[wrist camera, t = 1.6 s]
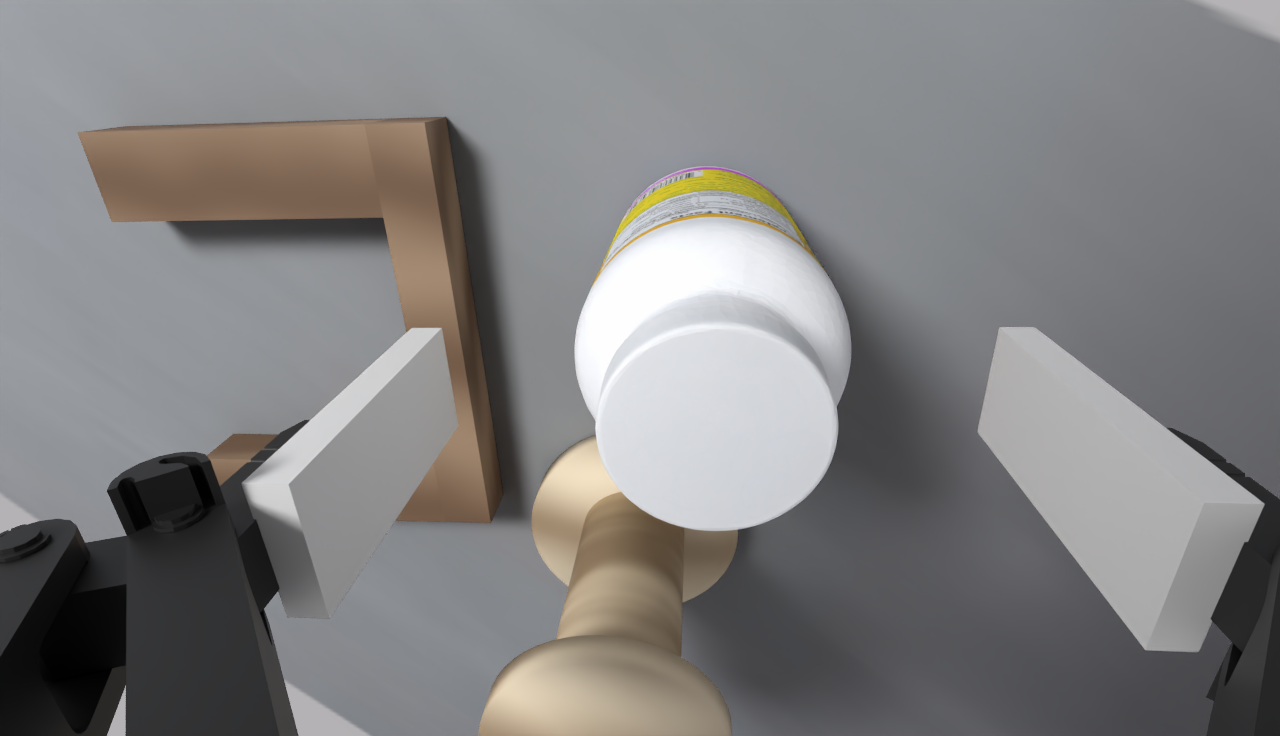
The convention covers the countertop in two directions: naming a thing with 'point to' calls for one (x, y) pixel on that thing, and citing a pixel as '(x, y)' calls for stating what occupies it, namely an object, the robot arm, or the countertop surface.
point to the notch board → (320, 189)
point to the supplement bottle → (713, 354)
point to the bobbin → (612, 617)
